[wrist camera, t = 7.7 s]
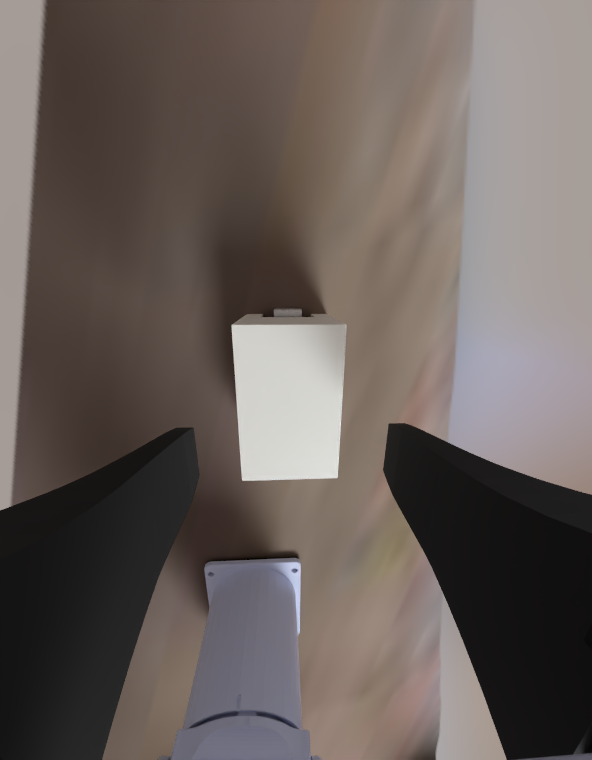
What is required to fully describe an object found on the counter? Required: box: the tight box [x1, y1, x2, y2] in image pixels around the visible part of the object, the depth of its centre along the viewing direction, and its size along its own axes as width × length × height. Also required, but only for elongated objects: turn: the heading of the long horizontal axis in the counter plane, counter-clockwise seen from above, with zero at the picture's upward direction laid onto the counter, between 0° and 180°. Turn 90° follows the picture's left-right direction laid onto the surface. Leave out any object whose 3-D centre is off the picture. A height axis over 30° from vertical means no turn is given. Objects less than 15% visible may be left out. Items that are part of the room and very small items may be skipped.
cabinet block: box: [231, 314, 347, 481], centre depth 16 cm, size 8×5×6 cm, turn 0°
